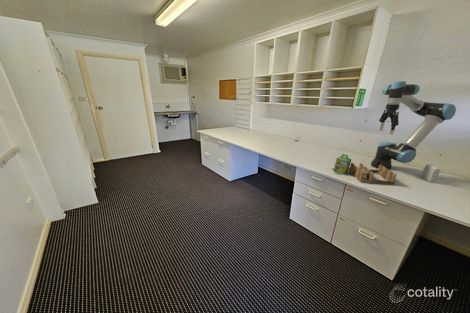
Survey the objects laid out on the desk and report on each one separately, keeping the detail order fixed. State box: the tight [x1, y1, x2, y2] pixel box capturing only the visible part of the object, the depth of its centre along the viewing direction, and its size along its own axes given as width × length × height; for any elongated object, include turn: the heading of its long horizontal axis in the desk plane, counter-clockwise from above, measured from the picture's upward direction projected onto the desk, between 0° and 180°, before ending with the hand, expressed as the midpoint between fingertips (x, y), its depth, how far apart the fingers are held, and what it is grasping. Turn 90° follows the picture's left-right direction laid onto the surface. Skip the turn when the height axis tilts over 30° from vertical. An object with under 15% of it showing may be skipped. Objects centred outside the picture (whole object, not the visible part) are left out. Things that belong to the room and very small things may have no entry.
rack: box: [348, 162, 397, 186], centre depth 147 cm, size 22×23×8 cm
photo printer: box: [421, 163, 441, 183], centre depth 143 cm, size 10×4×12 cm, turn 167°
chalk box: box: [333, 153, 352, 174], centre depth 155 cm, size 9×9×15 cm
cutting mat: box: [331, 167, 352, 176], centre depth 158 cm, size 12×12×1 cm
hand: (385, 132), depth 142 cm, fingers open, 13 cm apart
